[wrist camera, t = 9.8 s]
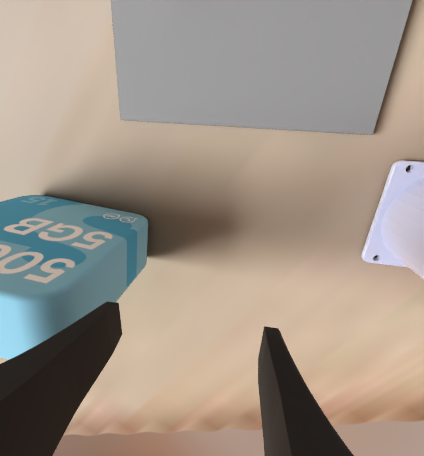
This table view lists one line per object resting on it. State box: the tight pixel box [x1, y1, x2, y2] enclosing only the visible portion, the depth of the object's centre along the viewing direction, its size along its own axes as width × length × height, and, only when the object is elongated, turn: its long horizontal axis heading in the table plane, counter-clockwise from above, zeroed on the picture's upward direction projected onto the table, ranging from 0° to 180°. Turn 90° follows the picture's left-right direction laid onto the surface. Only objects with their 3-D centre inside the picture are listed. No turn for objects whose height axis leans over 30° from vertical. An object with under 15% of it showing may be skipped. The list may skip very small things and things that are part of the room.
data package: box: [0, 195, 148, 360], centre depth 17 cm, size 12×4×12 cm, turn 82°
